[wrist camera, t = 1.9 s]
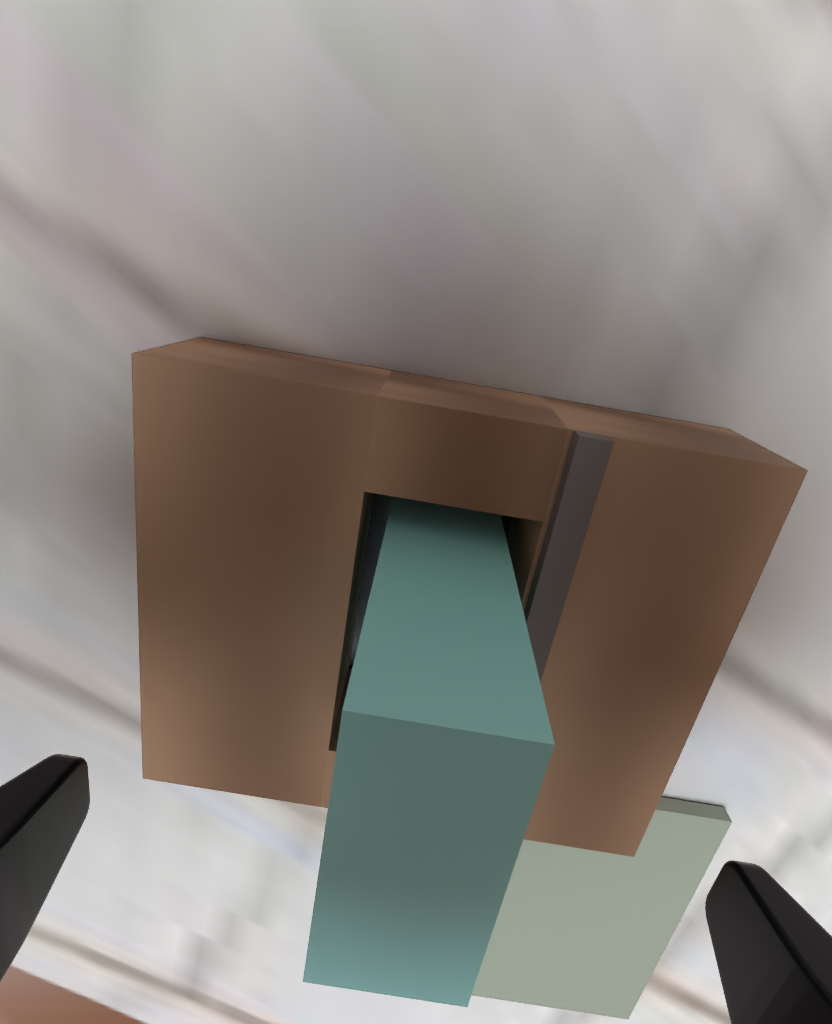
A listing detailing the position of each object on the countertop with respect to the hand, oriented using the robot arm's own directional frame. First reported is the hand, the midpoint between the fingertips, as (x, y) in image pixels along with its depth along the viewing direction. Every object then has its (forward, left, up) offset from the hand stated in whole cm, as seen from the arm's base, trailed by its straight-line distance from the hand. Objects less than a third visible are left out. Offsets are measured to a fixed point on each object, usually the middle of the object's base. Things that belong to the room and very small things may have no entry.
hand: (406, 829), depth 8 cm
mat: (+5, -11, -7) cm, 14 cm away
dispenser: (0, 0, -7) cm, 7 cm away
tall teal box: (0, 0, -7) cm, 7 cm away
